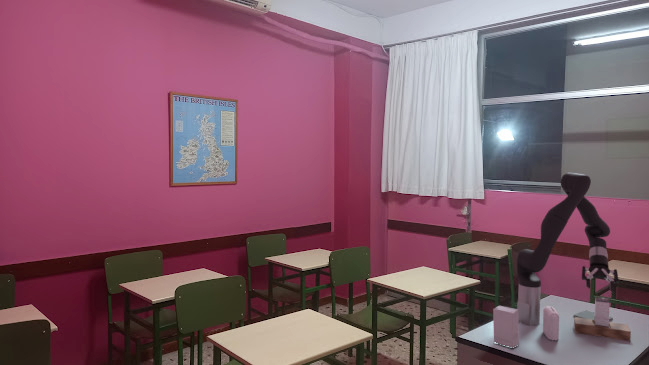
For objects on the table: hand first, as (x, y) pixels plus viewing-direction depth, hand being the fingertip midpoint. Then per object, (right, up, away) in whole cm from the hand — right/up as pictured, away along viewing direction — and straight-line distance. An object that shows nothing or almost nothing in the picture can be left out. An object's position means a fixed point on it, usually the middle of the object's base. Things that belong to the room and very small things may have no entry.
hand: (600, 288), depth 203 cm
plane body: (-4, -17, -8) cm, 19 cm away
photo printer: (-28, -18, -11) cm, 35 cm away
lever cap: (-4, -14, -8) cm, 17 cm away
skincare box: (-51, -18, -21) cm, 58 cm away
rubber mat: (+3, -16, +10) cm, 20 cm away
